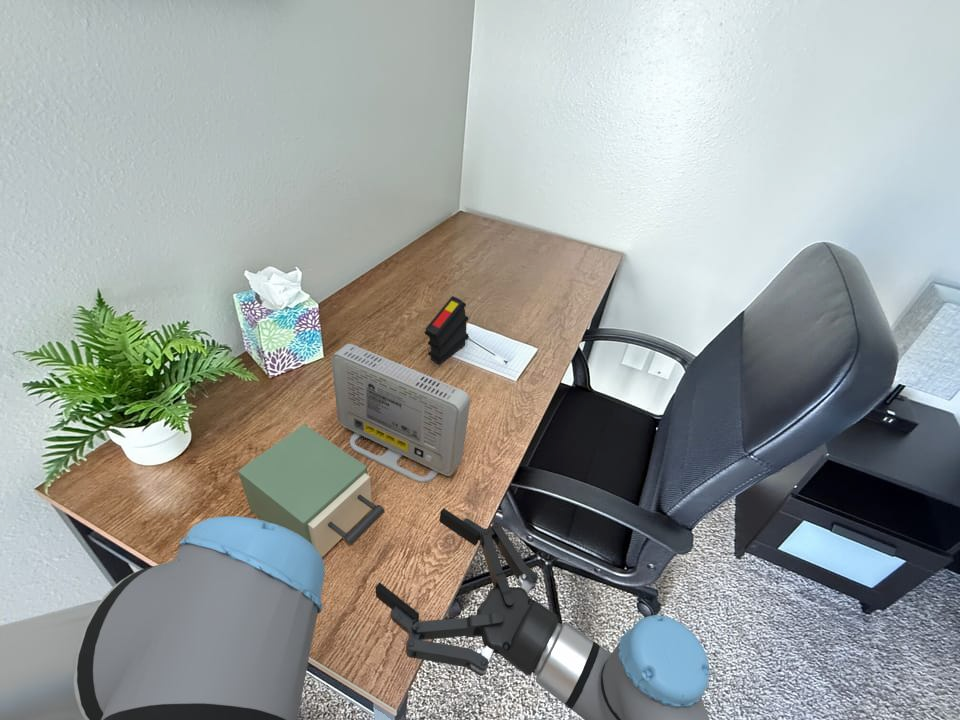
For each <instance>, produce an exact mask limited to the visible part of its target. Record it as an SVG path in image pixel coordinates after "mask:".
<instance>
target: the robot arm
mask: <svg viewBox="0 0 960 720" xmlns="http://www.w3.org/2000/svg"><path fill="white" fill-rule="evenodd" d="M439 523H440V524H442V525H443V526H445V527H447V528H448V529H449V530H451V531H452V532H454V533H455V534H456V535H458V536H460V538H462V539H464V540H465V541H467V542H468V543H469V544H471V545H472V546H474V547H476V546H477V545H480V546H481V551H482V553H483V556H484V559H485V563H486V566H487V569H488V573H489V576H490V579H491V583H492V588H490V589H489V591H488V592H487V594H486V597H485V599H484V600H483V601H482V602H481V603H480V605H479V606H478V607H477V610H476V614H473V615H469V616H467V617H456V618H445V619H444V618H443V619H433V620H432V619H431V620H421V621H420V613H419V612H418V611H417V610H415V609H414V608H413V607H412V606H410V605H409V604H408V603H407V602H405V600H403V599H402V598H400V597H399V596H398V595H396V594H395V593H394V592H393V591H391V590H390V589H389V588H388V587H386V586H385V585H384V584H383V583H381V582H380V581H379V582H378V583H377V584H376V585H375V586H374V587H375V588H374V589H375V597H376V599H378V600H379V601H380V602H382V603H383V604H384V605H385V606H386V607H388V608H389V609H390V610H391V611H390V619H391V621H392V622H393V623H394V624H396V626H398V627H399V628H400V629H401V630H402V631H403V632H405V633H406V634H407V635H408V638H407V641H406V643H405V655H406V657H408V658H410V659H417V660H422V661H427V662H434V663H438V664H445V665H450V666H456V667H462V668H466V669H468V670H470V671H471V672H472V673H474V674H476V675H478V676H480V677H483V676H485V675H486V673H487V670H488V668H489V664H490V660H491V658H492V656H493V654H497V655H499V656H501V657H502V658H503V659H504V660H506V661H507V662H508V663H510V664H511V665H512V666H513V667H515V668H516V669H517V670H519V671H520V672H521V673H523V674H524V675H525V676H530V677H531V676H532V674H534V675H535V676H536V677H535V679H534V680H535V683H536V684H537V685H538V686H540V687H541V688H543V690H545V691H546V692H548V693H549V694H550V695H552V696H553V697H554V698H555V699H557V700H558V701H559V702H560V703H562V704H563V705H565V707H567V708H568V709H570V710H571V711H573V712H574V713H575V714H576V715H578V716H579V717H580V718H581V719H582V720H710V719H711V718H710V717H709V714H708V711H707V708H706V705H705V702H704V701H703V698H702V697H703V696H704V695H705V693H706V690H707V689H708V685H709V682H710V662H709V659H708V655H707V653H706V651H705V648H704V647H703V645H702V643H701V642H700V640H699V639H698V638H697V636H696V635H695V634H694V633H693V632H692V631H691V630H690V629H689V628H688V627H687V626H686V625H684V624H683V623H681V622H680V621H678V620H676V619H674V618H671V617H669V616H665V615H659V614H654V615H648V616H645V617H643V618H641V619H640V620H638V621H637V622H636V623H635V624H634V625H633V626H632V627H631V628H630V629H628V630H626V632H624V634H622V636H621V638H620V640H619V641H618V644H617V645H616V647H615V648H614V649H613V651H612V652H610V650H609V651H608V650H607V648H604V647H603V646H602V645H600V644H599V643H597V642H596V641H594V640H593V639H591V638H590V637H589V636H587V635H586V634H584V633H583V632H581V631H580V630H579V629H577V628H576V627H575V626H573V625H572V624H571V623H569V622H568V621H564V622H562V623H559V617H558V614H556V613H555V612H553V611H552V610H550V609H549V608H548V607H546V606H544V605H543V604H542V603H540V602H539V601H537V600H534V599H532V597H530V596H529V592H530V591H531V590H534V589H535V587H536V585H537V582H538V580H539V575H538V573H537V572H535V571H534V570H533V569H532V568H531V567H529V566H528V565H527V564H526V562H525V561H524V559H523V558H522V556H521V555H520V553H519V552H518V550H517V548H516V547H515V546H514V544H513V542H512V540H511V539H510V538H509V536H508V535H507V533H506V532H505V530H504V528H503V527H502V525H501V524H500V523H499V522H493V523H492V525H491V526H489V527H488V528H485V527H482V526H480V525H479V524H477V523H476V522H475V521H473V520H471V519H470V518H467V517H466V518H464V519H463V520H462V519H461V518H459V517H458V516H456V515H455V514H453V513H452V512H450V511H449V510H447V509H446V508H444V507H443V508H442V509H441V510H440V512H439ZM478 543H479V544H478ZM178 547H179V548H178V551H177V554H176V556H175V557H174V558H173V559H172V560H171V561H166V562H163V563H160V564H157V565H153V566H149V567H145V568H143V569H139V570H136V571H135V572H133V573H131V574H129V575H127V576H126V577H124V578H123V579H121V580H120V581H118V583H116V584H115V585H114V586H113V587H111V588H110V589H109V591H107V593H106V594H105V595H104V596H103V597H102V598H101V599H98V600H94V601H90V602H86V603H83V604H78V605H75V606H74V605H73V606H71V607H67V608H63V609H60V610H55V611H52V612H51V611H50V612H48V613H43V614H39V615H35V616H32V617H28V618H27V617H26V618H25V619H20V620H16V621H12V622H9V623H4V624H1V625H0V720H298V718H299V713H300V707H301V703H302V696H303V692H304V688H305V687H304V686H305V682H306V677H307V671H308V670H307V669H308V665H309V660H310V655H311V650H312V644H313V639H314V634H315V629H316V623H317V617H318V614H320V613H322V609H323V603H322V601H321V600H322V594H323V587H324V582H325V581H324V580H325V576H326V575H325V572H326V570H325V563H324V559H323V557H321V555H320V553H319V552H318V551H317V549H316V548H315V547H314V546H313V545H312V544H311V543H310V542H309V541H308V540H306V539H305V538H303V537H302V536H300V535H299V534H297V533H295V532H293V531H291V530H289V529H287V528H285V527H282V526H279V525H277V524H273V523H269V522H266V521H263V520H261V519H260V518H254V517H246V516H238V515H237V516H235V515H234V516H233V515H232V516H231V515H226V516H215V517H211V518H207V519H204V520H201V521H199V522H197V523H196V524H194V525H193V526H191V528H190V529H189V530H188V531H187V534H186V535H185V537H183V538H181V540H180V541H179V544H178ZM497 549H498V551H499V552H500V554H501V555H502V557H503V558H504V561H505V562H506V563H507V565H508V567H509V568H510V570H511V572H512V573H513V575H514V576H515V578H516V579H517V583H518V585H519V586H513V587H512V586H510V584H509V581H508V578H507V575H506V573H505V572H504V570H503V567H502V564H501V561H500V557H499V555H498V552H497ZM461 637H467V638H476V637H477V638H479V637H481V640H482V643H483V646H484V648H480V647H477V648H475V649H472V648H468V647H463V646H458V645H452V644H446V643H441V642H435V641H429V640H439V639H448V638H450V639H451V638H461Z"/></svg>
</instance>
